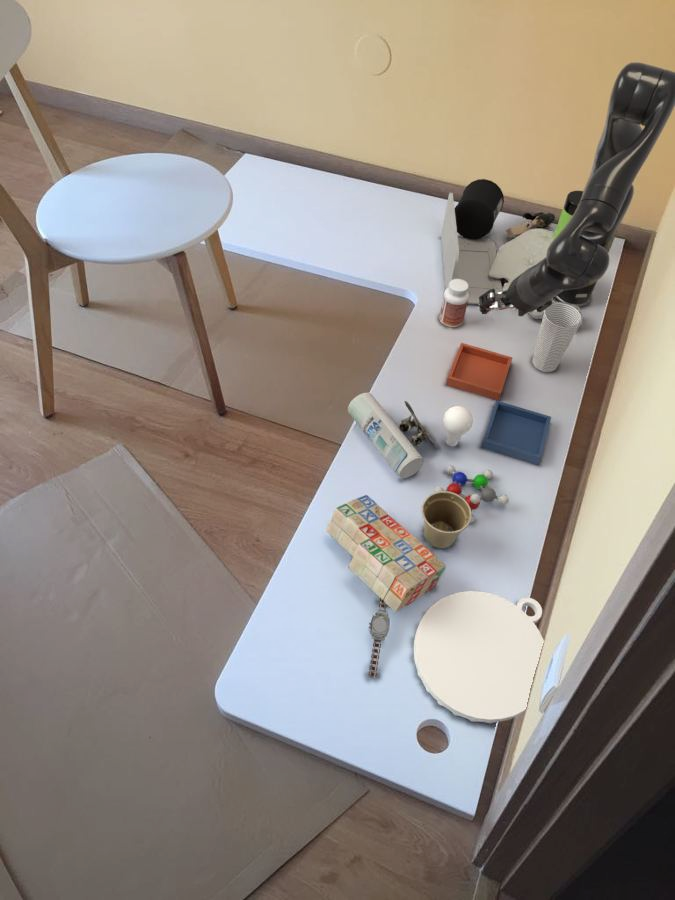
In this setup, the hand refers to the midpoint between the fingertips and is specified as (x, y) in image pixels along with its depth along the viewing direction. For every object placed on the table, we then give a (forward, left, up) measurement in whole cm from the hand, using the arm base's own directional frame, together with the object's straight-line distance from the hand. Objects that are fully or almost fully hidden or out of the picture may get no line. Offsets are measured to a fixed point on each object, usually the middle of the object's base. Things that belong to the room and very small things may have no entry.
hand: (501, 310), depth 162 cm
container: (-45, -16, -11) cm, 49 cm away
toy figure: (-52, -5, -14) cm, 54 cm away
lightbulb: (+25, -1, -18) cm, 31 cm away
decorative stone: (-23, +13, -18) cm, 32 cm away
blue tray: (+18, +11, -18) cm, 27 cm away
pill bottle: (-13, -12, -18) cm, 26 cm away
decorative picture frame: (+30, -6, -10) cm, 32 cm away
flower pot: (+49, +2, -18) cm, 52 cm away
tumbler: (-52, +10, -18) cm, 56 cm away
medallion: (+69, +17, -15) cm, 73 cm away
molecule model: (+31, +2, -17) cm, 36 cm away
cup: (-7, +13, -18) cm, 24 cm away
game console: (-34, -12, -18) cm, 40 cm away
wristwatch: (+74, -2, -18) cm, 76 cm away
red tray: (+3, -1, -18) cm, 18 cm away
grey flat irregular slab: (-25, +2, -16) cm, 30 cm away
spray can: (+38, -7, -15) cm, 41 cm away
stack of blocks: (+55, -4, -15) cm, 57 cm away
